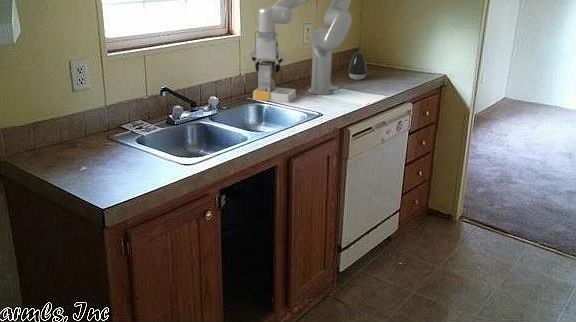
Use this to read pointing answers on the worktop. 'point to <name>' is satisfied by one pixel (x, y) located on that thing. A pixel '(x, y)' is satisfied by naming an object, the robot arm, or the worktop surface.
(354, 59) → the black rounded egg shape
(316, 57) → the robot arm
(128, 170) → the worktop surface
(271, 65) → the coffee box
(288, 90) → the rack
